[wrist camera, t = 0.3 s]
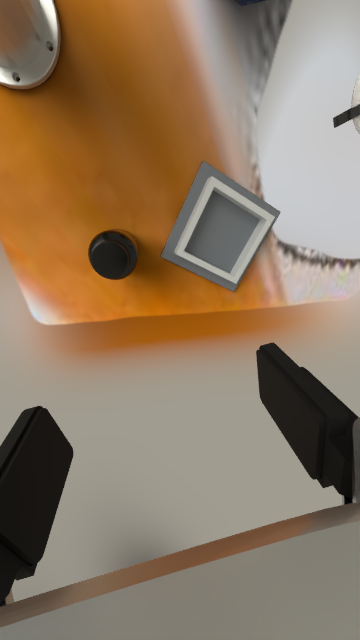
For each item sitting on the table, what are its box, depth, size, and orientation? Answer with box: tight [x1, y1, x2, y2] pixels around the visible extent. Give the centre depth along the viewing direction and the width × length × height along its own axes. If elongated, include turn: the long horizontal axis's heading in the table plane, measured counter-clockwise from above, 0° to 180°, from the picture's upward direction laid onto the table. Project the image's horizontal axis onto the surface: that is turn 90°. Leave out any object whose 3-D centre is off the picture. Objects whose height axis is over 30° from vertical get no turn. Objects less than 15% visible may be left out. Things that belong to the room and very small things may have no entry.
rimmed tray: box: [161, 161, 280, 292], centre depth 39 cm, size 16×16×4 cm
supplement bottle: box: [88, 229, 139, 280], centre depth 34 cm, size 7×7×12 cm
